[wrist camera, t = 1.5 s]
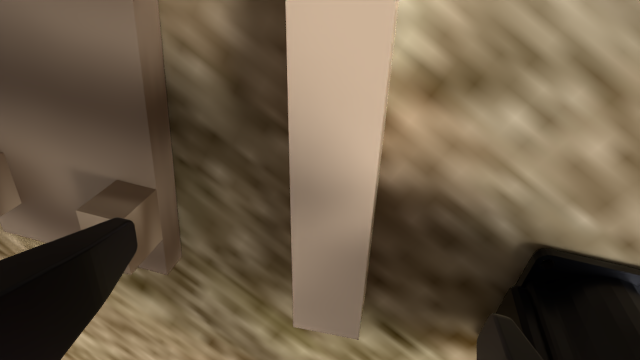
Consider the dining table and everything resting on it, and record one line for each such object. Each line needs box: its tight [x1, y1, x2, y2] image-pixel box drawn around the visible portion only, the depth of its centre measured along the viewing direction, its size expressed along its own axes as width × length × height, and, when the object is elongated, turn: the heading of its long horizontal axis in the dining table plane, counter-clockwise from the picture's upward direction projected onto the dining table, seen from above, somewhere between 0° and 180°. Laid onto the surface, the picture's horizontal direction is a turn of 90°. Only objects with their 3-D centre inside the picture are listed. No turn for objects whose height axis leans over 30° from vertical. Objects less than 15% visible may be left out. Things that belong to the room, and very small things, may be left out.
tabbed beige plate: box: [0, 0, 182, 275], centre depth 15 cm, size 20×10×4 cm, turn 173°
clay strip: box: [286, 0, 399, 340], centre depth 15 cm, size 16×3×4 cm, turn 179°
